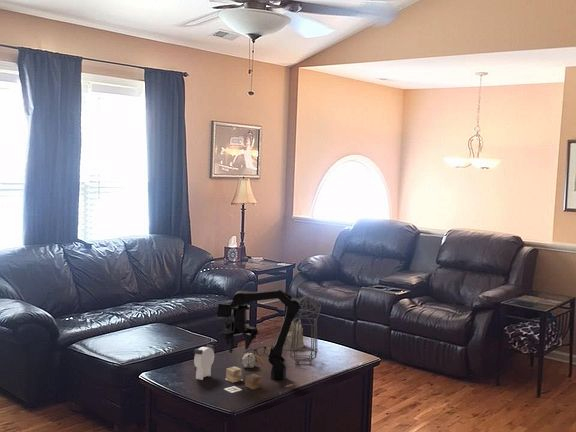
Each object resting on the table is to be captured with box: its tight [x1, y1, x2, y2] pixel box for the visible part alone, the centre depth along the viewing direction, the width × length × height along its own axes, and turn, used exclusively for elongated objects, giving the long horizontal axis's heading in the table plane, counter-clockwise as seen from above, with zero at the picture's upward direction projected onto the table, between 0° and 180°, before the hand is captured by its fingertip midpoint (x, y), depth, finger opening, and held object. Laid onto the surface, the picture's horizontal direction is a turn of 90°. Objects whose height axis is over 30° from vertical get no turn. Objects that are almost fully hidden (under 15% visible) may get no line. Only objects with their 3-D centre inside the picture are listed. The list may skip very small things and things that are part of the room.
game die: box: [240, 351, 259, 369], centre depth 303 cm, size 9×8×10 cm
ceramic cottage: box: [283, 319, 305, 351], centre depth 345 cm, size 16×16×15 cm
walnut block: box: [244, 373, 262, 390], centre depth 275 cm, size 5×5×5 cm
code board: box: [224, 378, 243, 394], centre depth 277 cm, size 18×20×1 cm
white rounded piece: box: [193, 344, 216, 381], centre depth 286 cm, size 12×11×15 cm
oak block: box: [225, 366, 243, 383], centre depth 284 cm, size 5×5×5 cm
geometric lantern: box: [289, 295, 322, 366], centre depth 314 cm, size 16×16×35 cm
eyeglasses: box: [245, 346, 271, 365], centre depth 321 cm, size 14×14×4 cm
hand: (238, 351), depth 288 cm, fingers open, 9 cm apart
